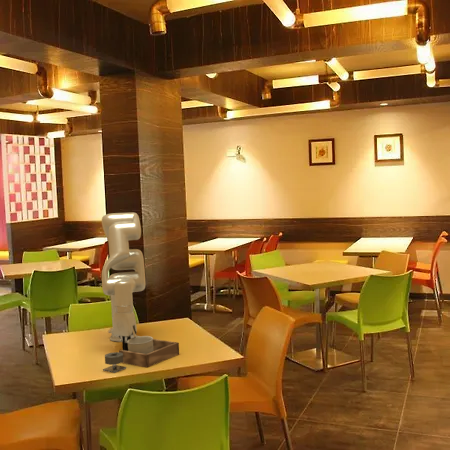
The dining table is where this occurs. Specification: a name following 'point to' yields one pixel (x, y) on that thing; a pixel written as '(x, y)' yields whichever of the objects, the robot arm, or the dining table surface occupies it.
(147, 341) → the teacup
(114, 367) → the axle mount
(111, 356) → the wheel
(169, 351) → the bay
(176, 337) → the dining table surface
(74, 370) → the dining table surface
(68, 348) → the dining table surface
